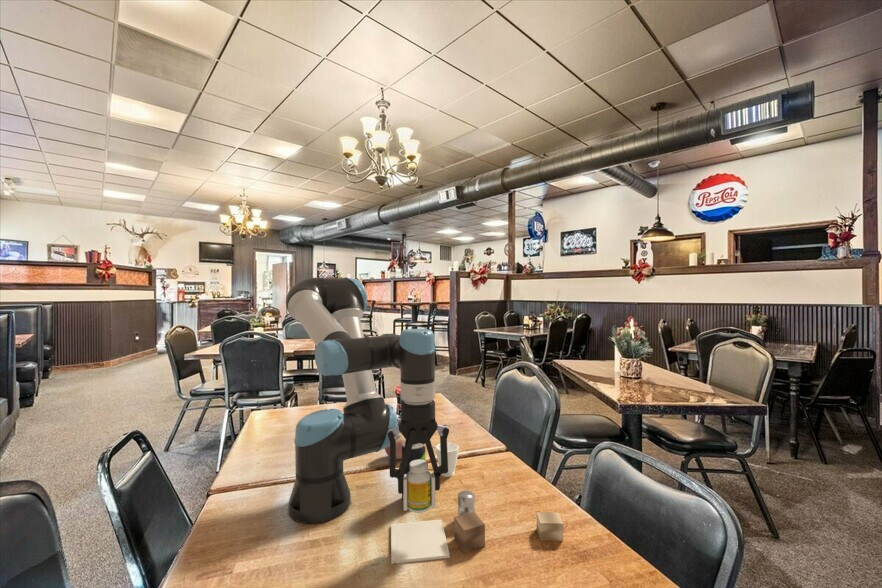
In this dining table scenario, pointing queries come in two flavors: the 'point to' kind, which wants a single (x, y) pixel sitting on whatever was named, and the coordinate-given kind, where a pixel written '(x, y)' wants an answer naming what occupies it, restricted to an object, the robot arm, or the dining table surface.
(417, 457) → the beverage can
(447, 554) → the coaster
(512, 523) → the dining table surface
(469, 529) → the walnut block
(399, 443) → the apple
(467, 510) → the cylinder
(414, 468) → the supplement bottle
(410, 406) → the robot arm
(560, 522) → the oak block
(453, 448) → the cup
